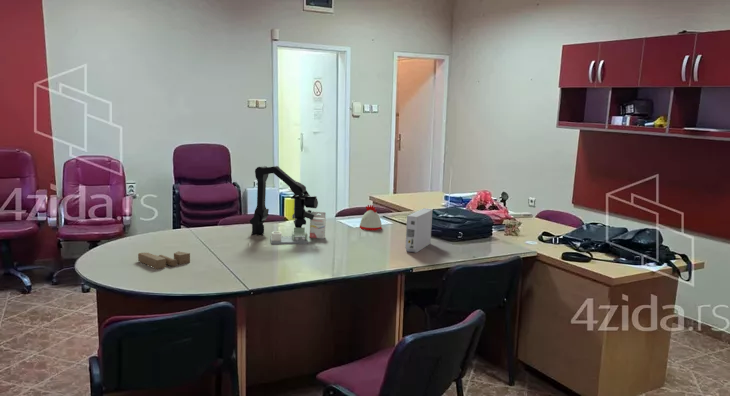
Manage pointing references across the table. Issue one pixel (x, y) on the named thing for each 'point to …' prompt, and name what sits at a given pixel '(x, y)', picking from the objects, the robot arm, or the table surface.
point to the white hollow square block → (276, 236)
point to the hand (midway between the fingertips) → (298, 233)
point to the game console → (418, 230)
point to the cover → (299, 232)
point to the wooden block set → (163, 259)
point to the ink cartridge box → (318, 225)
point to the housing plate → (290, 240)
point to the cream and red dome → (370, 219)
